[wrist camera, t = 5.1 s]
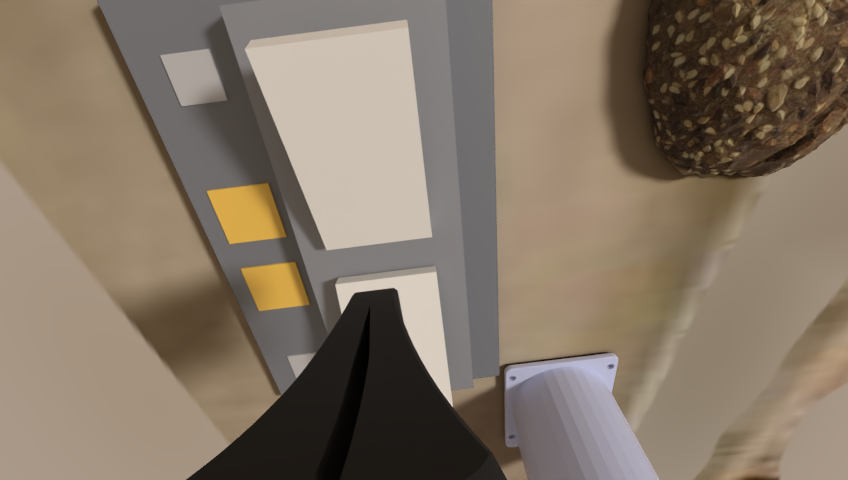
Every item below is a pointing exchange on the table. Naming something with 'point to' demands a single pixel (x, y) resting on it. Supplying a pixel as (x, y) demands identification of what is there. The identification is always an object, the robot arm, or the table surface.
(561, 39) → the table surface
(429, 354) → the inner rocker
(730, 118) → the bread roll
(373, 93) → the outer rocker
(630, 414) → the table surface
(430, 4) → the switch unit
